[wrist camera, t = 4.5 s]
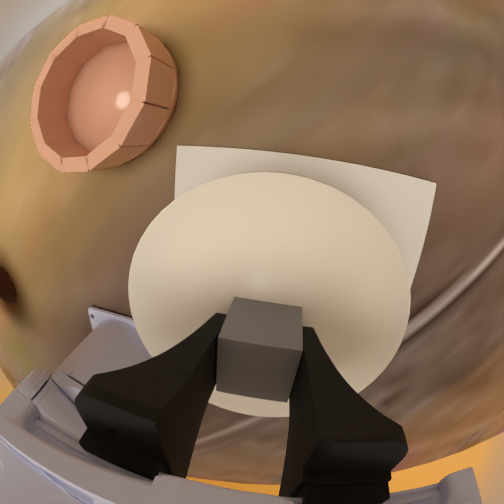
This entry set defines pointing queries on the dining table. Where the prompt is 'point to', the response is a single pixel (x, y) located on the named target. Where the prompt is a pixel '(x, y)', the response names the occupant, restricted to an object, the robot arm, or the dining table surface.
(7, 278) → the brown miniature tree
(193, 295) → the lid
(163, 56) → the bowl
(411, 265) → the mat
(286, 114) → the dining table surface
